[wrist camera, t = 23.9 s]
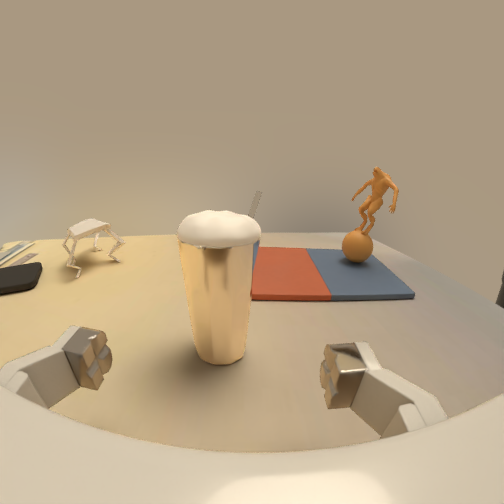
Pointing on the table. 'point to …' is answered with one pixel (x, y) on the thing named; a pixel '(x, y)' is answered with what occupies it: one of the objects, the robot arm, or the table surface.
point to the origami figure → (86, 229)
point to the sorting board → (322, 276)
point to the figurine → (358, 241)
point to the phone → (19, 277)
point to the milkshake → (219, 279)
